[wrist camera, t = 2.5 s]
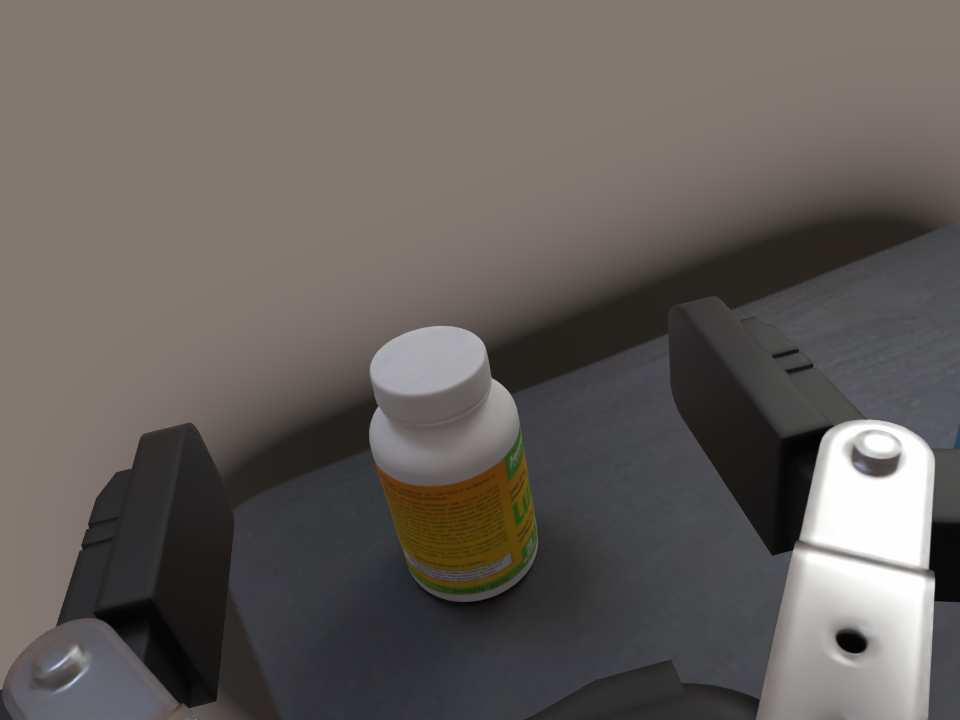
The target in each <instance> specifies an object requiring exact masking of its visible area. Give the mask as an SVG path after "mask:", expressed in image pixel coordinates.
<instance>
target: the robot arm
mask: <svg viewBox="0 0 960 720" xmlns="http://www.w3.org/2000/svg"><path fill="white" fill-rule="evenodd" d="M669 355H670V383H671V389H672V394H673V397H674V401H675V404H676V406H677V409H678V411H679V413H680V415H681V416H682V418H683V419H684V421H685V423H686V424H687V426H688V427H689V429H690V430H691V432H692V433H693V435H694V436H695V438H696V439H697V441H698V443H699V444H700V446H701V447H702V449H703V450H704V452H705V453H706V455H707V456H708V458H709V459H710V461H711V462H712V464H713V466H714V467H715V469H716V470H717V472H718V473H719V475H720V476H721V478H722V479H723V481H724V482H725V484H726V485H727V487H728V489H729V490H730V492H731V493H732V495H733V496H734V498H735V499H736V501H737V502H738V504H739V505H740V507H741V508H742V510H743V512H744V513H745V515H746V516H747V518H748V519H749V521H750V522H751V524H752V525H753V527H754V528H755V530H756V531H757V533H758V535H759V536H760V538H761V539H762V541H763V542H764V544H765V545H766V547H767V548H768V550H769V551H770V553H771V555H772V556H773V555H776V554H780V553H784V552H788V551H791V550H793V554H792V559H791V563H790V568H789V572H788V577H787V582H786V586H785V591H784V595H783V600H782V604H781V609H780V613H779V618H778V622H777V627H776V631H775V636H774V640H773V645H772V649H771V654H770V658H769V663H768V667H767V672H766V676H765V681H764V685H763V690H762V694H761V699H760V700H759V699H757V698H755V697H753V696H750V695H747V694H744V693H741V692H738V691H735V690H732V689H727V688H723V687H718V686H714V685H705V684H695V683H681V681H680V679H679V677H678V675H677V672H676V670H675V668H674V666H673V663H672V661H671V660H668V661H664V662H661V663H657V664H653V665H650V666H646V667H642V668H639V669H635V670H631V671H627V672H624V673H620V674H616V675H613V676H609V677H605V678H602V679H598V680H595V681H593V682H592V683H590V684H588V685H586V686H585V687H583V688H581V689H579V690H577V691H576V692H574V693H572V694H570V695H569V696H567V697H565V698H563V699H562V700H560V701H558V702H556V703H554V704H553V705H551V706H549V707H547V708H546V709H544V710H542V711H540V712H539V713H537V714H535V715H533V716H532V717H530V718H528V719H525V720H928V705H929V686H930V667H931V648H932V629H933V610H934V601H945V602H960V449H935V448H930V447H929V446H928V444H927V443H926V442H925V441H924V440H923V439H922V438H920V437H919V436H918V435H917V434H915V433H913V432H912V431H910V430H908V429H906V428H904V427H901V426H899V425H896V424H893V423H889V422H884V421H879V420H867V419H866V418H865V417H864V416H863V415H862V414H861V413H860V412H859V411H858V410H857V409H856V408H855V407H854V406H853V405H852V403H851V402H850V401H849V400H848V399H847V398H846V397H845V396H844V395H843V394H842V393H841V392H840V391H839V390H838V389H837V388H836V387H835V386H834V385H833V384H832V383H831V382H830V381H829V380H828V379H827V378H826V377H825V376H824V375H823V373H822V372H821V371H820V370H819V369H818V368H817V367H816V368H814V367H813V363H812V362H811V361H810V360H809V359H808V358H807V357H806V356H805V355H804V354H803V353H802V352H801V353H799V350H798V348H797V347H796V346H795V345H794V343H793V342H792V341H791V340H790V339H789V338H788V337H787V336H786V335H785V334H784V333H783V332H782V331H781V330H779V329H777V328H775V327H773V326H771V325H769V324H767V323H765V322H763V321H760V320H758V319H756V318H754V317H751V318H747V319H743V320H739V319H738V318H737V317H736V316H735V315H734V314H733V313H732V312H731V310H730V309H729V308H728V307H727V306H726V305H725V304H724V303H723V302H722V300H721V299H719V298H718V297H716V296H713V297H709V298H704V299H700V300H696V301H692V302H688V303H685V304H680V305H676V306H672V307H671V308H670V312H669ZM88 525H89V529H87V530H86V532H85V536H84V539H83V542H82V551H80V552H79V555H78V558H77V561H76V565H75V567H74V571H73V574H72V577H71V580H70V583H69V587H68V590H67V593H66V596H65V599H64V603H63V606H62V609H61V613H60V615H59V619H58V622H57V625H56V627H55V628H53V629H51V630H49V631H47V632H46V633H44V634H43V635H41V636H40V637H38V638H37V639H36V640H35V641H33V642H32V643H31V644H30V645H29V646H28V647H27V648H26V649H25V650H24V651H23V652H22V653H21V654H20V655H19V656H18V658H17V659H16V660H15V662H14V663H13V665H12V666H11V668H10V669H9V671H8V674H7V675H6V678H5V681H4V684H3V689H2V690H0V720H199V719H198V718H197V717H196V716H195V715H194V714H193V713H192V712H191V710H190V709H189V708H192V707H196V706H200V705H203V704H207V703H211V702H215V701H216V700H217V690H218V680H219V670H220V660H221V650H222V640H223V630H224V621H225V611H226V601H227V591H228V581H229V571H230V561H231V551H232V541H233V532H234V515H233V508H232V504H231V500H230V496H229V493H228V491H227V489H226V486H225V485H224V482H223V480H222V478H221V476H220V474H219V472H218V470H217V468H216V466H215V464H214V462H213V460H212V458H211V456H210V454H209V452H208V450H207V447H206V446H205V443H204V441H203V439H202V437H201V435H200V433H199V431H198V430H197V428H196V427H195V426H194V425H193V424H192V423H186V424H182V425H178V426H174V427H170V428H166V429H161V430H157V431H153V432H149V433H145V434H143V435H142V436H141V438H140V441H139V444H138V448H137V452H136V455H135V459H134V463H133V467H132V469H129V470H124V471H120V472H116V474H115V475H114V476H113V478H112V479H111V480H110V481H109V483H108V484H107V485H106V486H105V488H104V489H103V490H102V492H101V493H100V494H99V495H98V497H97V498H96V501H95V504H94V507H93V510H92V513H91V516H90V520H89V523H88Z"/></svg>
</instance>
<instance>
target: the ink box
mask: <svg viewBox="0 0 960 720" xmlns="http://www.w3.org/2000/svg"><path fill="white" fill-rule="evenodd" d="M954 449H960V425H959V429H958V433H957V437H956V441H955V445H954Z"/></svg>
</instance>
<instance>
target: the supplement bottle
mask: <svg viewBox="0 0 960 720" xmlns="http://www.w3.org/2000/svg"><path fill="white" fill-rule="evenodd" d="M370 378H371V381H372V386H373V389H374V394H375V399H376V402H377V404H378V408H377V410H376V411H375V413H374V415H373V418H372V421H371V424H370V430H369V440H370V446H371V450H372V454H373V457H374V461H375V464H376V467H377V470H378V473H379V476H380V480H381V483H382V486H383V489H384V492H385V495H386V499H387V502H388V505H389V508H390V511H391V515H392V518H393V521H394V524H395V527H396V531H397V534H398V537H399V541H400V544H401V547H402V550H403V553H404V556H405V559H406V562H407V565H408V568H409V570H410V572H411V574H412V576H413V577H414V579H415V580H416V581H417V582H418V583H419V585H420V586H421V587H423V588H424V589H425V590H426V591H428V592H429V593H431V594H433V595H435V596H437V597H439V598H442V599H445V600H449V601H456V602H471V601H480V600H483V599H487V598H491V597H493V596H496V595H498V594H500V593H502V592H504V591H506V590H508V589H509V588H511V587H512V586H514V585H515V584H516V583H517V582H518V581H520V580H521V579H522V578H523V577H524V576H525V574H526V573H527V572H528V570H529V569H530V567H531V566H532V564H533V561H534V559H535V556H536V553H537V548H538V534H537V525H536V519H535V513H534V507H533V501H532V495H531V489H530V483H529V477H528V470H527V465H526V459H525V452H524V446H523V440H522V434H521V428H520V421H519V416H518V412H517V408H516V405H515V402H514V400H513V398H512V397H511V395H510V394H509V392H508V391H507V390H506V389H505V388H504V387H503V386H502V385H501V384H500V383H498V382H497V381H496V380H494V379H492V378H491V372H490V367H489V362H488V357H487V352H486V348H485V346H484V344H483V342H482V341H481V340H480V338H478V337H477V336H476V335H475V334H473V333H471V332H469V331H467V330H464V329H461V328H457V327H449V326H435V327H426V328H422V329H417V330H414V331H411V332H408V333H405V334H403V335H401V336H398V337H397V338H395V339H393V340H391V341H390V342H388V343H387V344H385V345H384V346H383V347H382V348H381V349H380V350H379V351H378V352H377V353H376V355H375V356H374V358H373V359H372V362H371V365H370Z"/></svg>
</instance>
